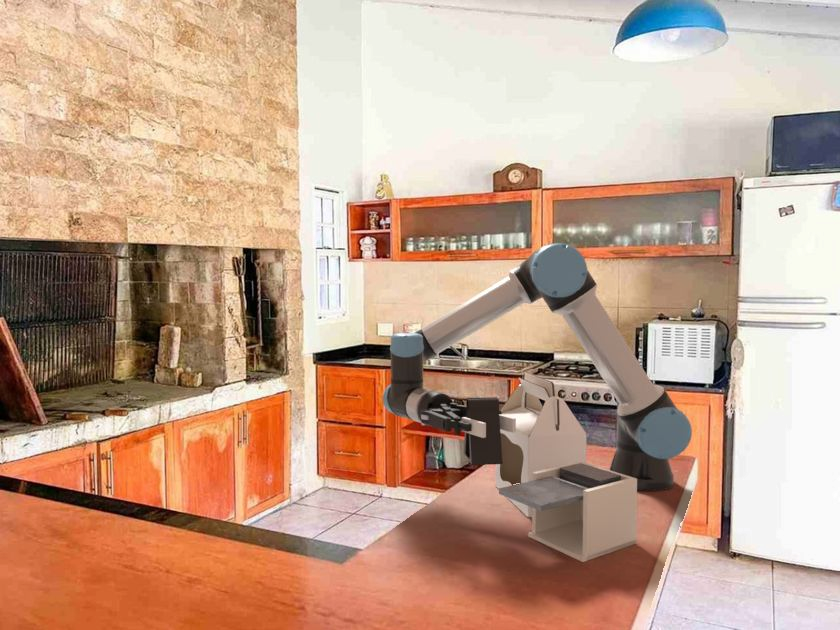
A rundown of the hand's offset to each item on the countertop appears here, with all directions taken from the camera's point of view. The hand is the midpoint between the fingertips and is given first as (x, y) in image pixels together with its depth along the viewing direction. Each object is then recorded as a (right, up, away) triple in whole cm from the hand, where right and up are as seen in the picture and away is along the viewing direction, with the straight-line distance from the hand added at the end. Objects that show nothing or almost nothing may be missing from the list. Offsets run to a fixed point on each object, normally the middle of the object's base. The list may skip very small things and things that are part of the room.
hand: (499, 427), depth 124 cm
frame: (+16, -22, +2) cm, 27 cm away
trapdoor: (+11, -13, -2) cm, 17 cm away
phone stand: (-3, -7, +5) cm, 9 cm away
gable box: (+12, -21, +25) cm, 35 cm away
